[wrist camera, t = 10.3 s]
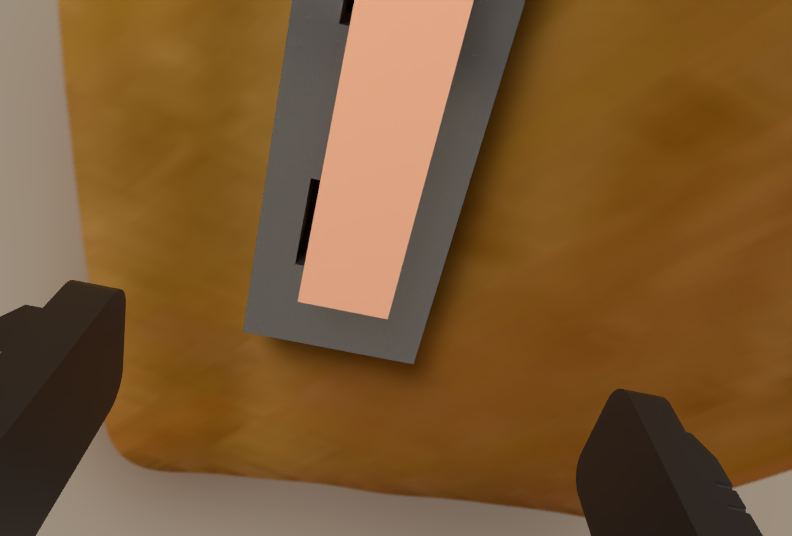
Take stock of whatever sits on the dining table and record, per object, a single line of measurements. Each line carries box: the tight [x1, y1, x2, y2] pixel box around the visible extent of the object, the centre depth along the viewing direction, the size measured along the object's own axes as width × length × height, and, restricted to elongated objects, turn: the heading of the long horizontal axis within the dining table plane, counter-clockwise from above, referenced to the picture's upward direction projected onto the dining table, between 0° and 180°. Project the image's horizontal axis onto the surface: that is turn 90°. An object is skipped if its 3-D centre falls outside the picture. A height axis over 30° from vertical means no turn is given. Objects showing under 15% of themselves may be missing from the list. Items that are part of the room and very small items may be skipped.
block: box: [298, 0, 474, 319], centre depth 25 cm, size 4×14×6 cm, turn 167°
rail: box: [243, 0, 525, 364], centre depth 26 cm, size 8×22×4 cm, turn 167°
